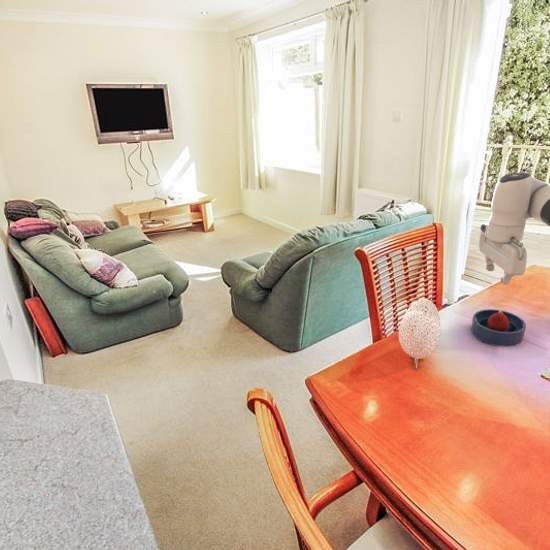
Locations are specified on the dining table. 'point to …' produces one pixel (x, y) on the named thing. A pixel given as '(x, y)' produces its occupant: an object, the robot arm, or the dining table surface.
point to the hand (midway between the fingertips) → (496, 276)
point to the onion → (498, 322)
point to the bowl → (495, 337)
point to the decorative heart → (420, 329)
